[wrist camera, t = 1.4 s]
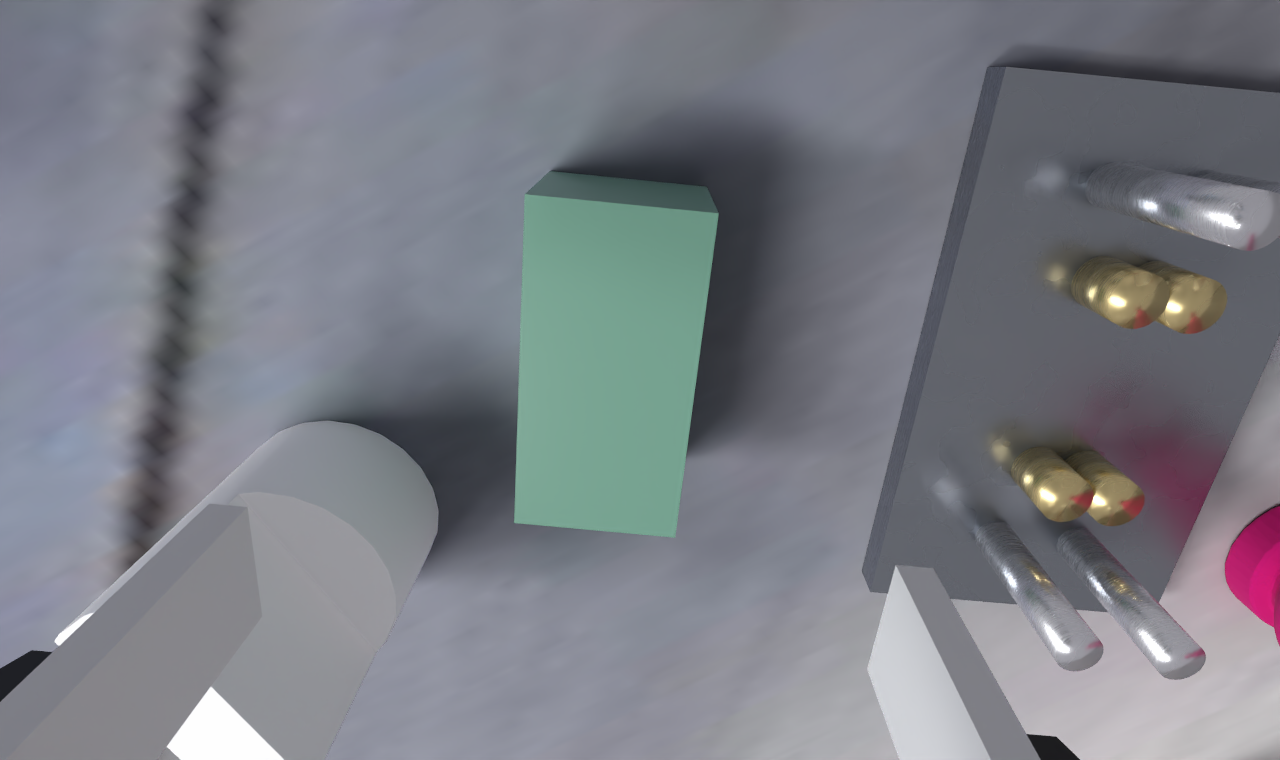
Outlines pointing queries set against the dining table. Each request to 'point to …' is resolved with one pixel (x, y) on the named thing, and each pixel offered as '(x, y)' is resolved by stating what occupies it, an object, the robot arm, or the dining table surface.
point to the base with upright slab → (308, 587)
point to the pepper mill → (1258, 568)
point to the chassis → (1086, 351)
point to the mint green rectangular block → (609, 349)
